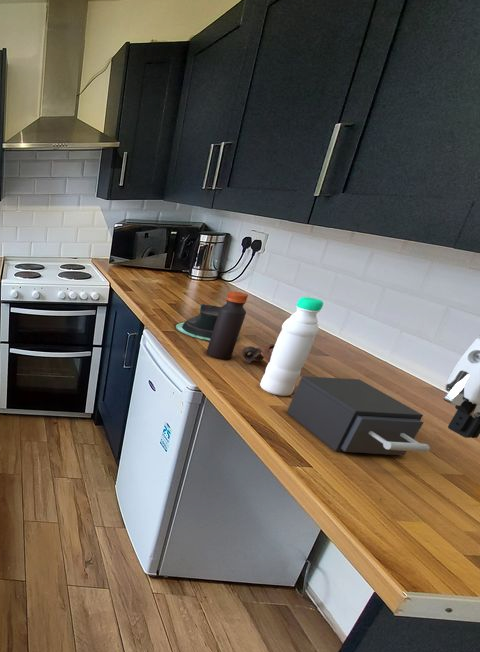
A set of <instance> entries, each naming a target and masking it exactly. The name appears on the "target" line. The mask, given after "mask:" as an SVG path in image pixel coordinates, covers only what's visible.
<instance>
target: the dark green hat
mask: <svg viewBox="0 0 480 652" xmlns="http://www.w3.org/2000/svg"><path fill="white" fill-rule="evenodd" d="M221 307H222V306H217V305H212V304H205V303H201V304H199V314H198V315H196V316H193V317H190V318H188V319H187V320H185V321H184V322H180V323H177V324H176V325H175V328H176V330H178V332H179V333H183V334H184V335H187V336H189V337H193V338H196V339H198V340H199V339H200V340H205V341H210V339H211V335H212V332H213V329H214V326H215V322H216V319H217V316H218V313H219V309H220V308H221ZM239 338H240V335H238V338H237V340H239Z"/></svg>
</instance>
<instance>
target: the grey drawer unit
mask: <svg viewBox="0 0 480 652" xmlns="http://www.w3.org/2000/svg"><path fill="white" fill-rule="evenodd" d="M286 414H288V415H289V416H290V417H292V418H293V419H294V420H295V421H297V422H298V423H299V424H300V425H302V426H303V427H304V428H305V429H306V430H308V431H309V432H310V433H311V434H313V435H314V436H315V437H316V438H318V439H319V440H320V441H321V442H323V443H324V444H325V445H327V446H328V447H329V448H330V449H332V450H333V451H334V452H337V453H338V452H340V453H346V452H345V451H344V450H342V449H341V446H342V444H343V442H344V440H345V438H346V436H347V434H348V432H349V430H350V428H351V426H352V425H353V423H354V421H355V419H356V417H357V416H358V415H367V416H384V417H401V418H408V419H419V420H420V421H422V418H423V417H424V414H422V413H421V412H419V411H417V410H415V409H413V408H411V407H410V406H408V405H406V404H405V403H402V402H401V401H400V400H397V399H396V398H394V397H392V396H390V395H389V394H387V393H385V392H383V391H381V390H379V389H378V388H375V387H374V386H373V385H371V384H368V383H366V382H365V381H363V380H361V379H359V378H358V379H357V378H342V377H341V378H340V377H325V376H324V377H321V376H308V375H307V376H305V375H302V376H301V377H300V380H299V382H298V385H297V387H296V389H295V391H294V394H293V395H292V398H291V401H290V403H289V405H288V408H287V411H286ZM351 453H355V454H360V453H359V452H351ZM369 454H372V455H376V454H375V453H368V455H369ZM384 455H387V456H393V455H392V454H384Z"/></svg>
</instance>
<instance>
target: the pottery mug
mask: <svg viewBox="0 0 480 652" xmlns="http://www.w3.org/2000/svg"><path fill="white" fill-rule="evenodd" d="M275 344H276V343H275ZM275 344H274V343H269V344H267V345H261V346H258V347H254V346H251V345H250V346H246V347H243V349H242V350H241V355H242V358H243V359H244V360H246V361H245V363H247V364H248V365H249V364H252V363H253V361H254V360H255V361H257V362H262V361H263V360H266V361H267V363H269V362H270V359H271V355H272V352H271V351H270V350H273V349H274V346H275Z"/></svg>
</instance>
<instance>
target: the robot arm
mask: <svg viewBox="0 0 480 652" xmlns="http://www.w3.org/2000/svg"><path fill="white" fill-rule="evenodd" d="M444 386H445V387H444V389H445V391H447V394H445V396H444V397H443V401H445V402H446V403H449V404H450V405H454V406H455V407H454V408H455V409H456V412H455V414H454V415H453V417H452V418H451V420H450V421H449V424H448V425H447V428H448V430H450V431H452V432H454V433H456V434H458V435H459V436H461V437H463V438H465V439H466V438H467V439H470V438H471V439H477V438H479V436H480V335H479V337H477V338H475V340H474V341H473V342H472V343H471V344H470V345H469V347H468V348H467V349H466V350H465V352H464V354H462V356H461V357H460V358H459V360H458V361H457V363H456V364H455V366H454V368H453V369H452V371H451V372H450V374H449V376H448V378H447V381H446V382H445V385H444Z"/></svg>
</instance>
